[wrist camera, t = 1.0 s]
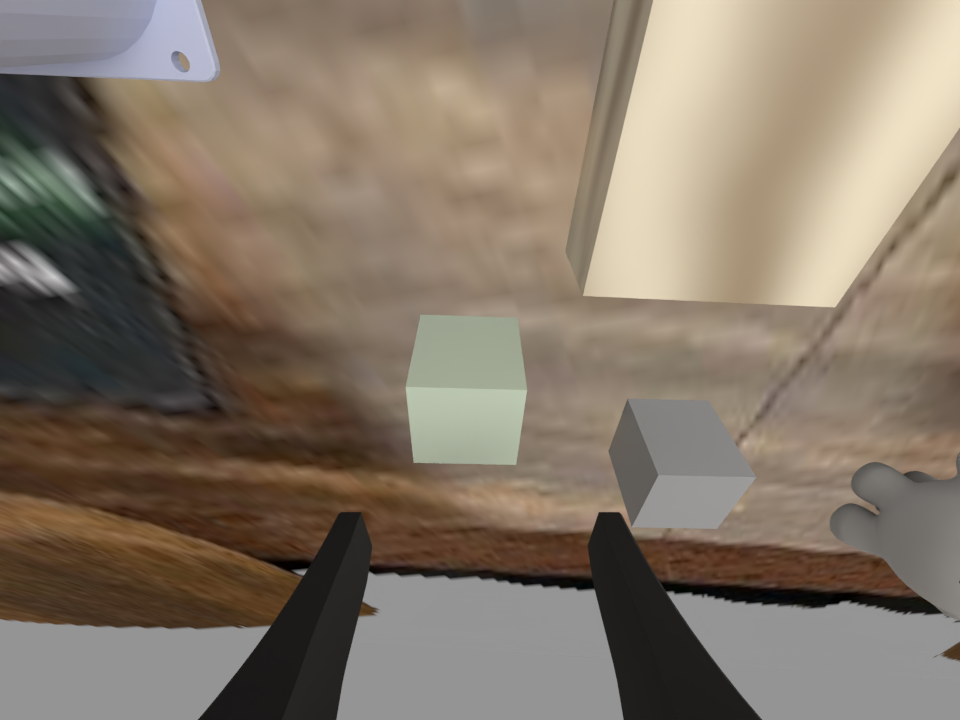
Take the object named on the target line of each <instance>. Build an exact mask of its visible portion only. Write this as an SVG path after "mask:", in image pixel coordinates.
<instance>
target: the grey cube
mask: <svg viewBox="0 0 960 720" xmlns="http://www.w3.org/2000/svg"><path fill="white" fill-rule="evenodd" d="M608 452H609V455H610V458H611V462H612V465H613V468H614V471H615V475H616V478H617V481H618V484H619V488H620V491H621V494H622V497H623V501H624V504H625V507H626V510H627V514H628V517H629V520H630V523H631V527H643V528H696V529H717V528H718V527H719V525H720V524H721V523H722V522H723V520H724V519H725V518H726V516H727V515H728V514H729V512H730V511H731V510H732V509H733V507H734V506H735V505H736V503H737V502H738V501H739V499H740V498H741V497H742V496H743V494H744V493H745V492H746V490H747V489H748V488H749V486H750V485H751V484H752V483H753V481H754V480H755V479H756V476H755V474H754V473H753V471H752V469H751V468H750V466H749V465H748V463H747V461H746V460H745V458H744V456H743V455H742V453H741V452H740V450H739V448H738V447H737V445H736V444H735V442H734V440H733V439H732V437H731V436H730V434H729V432H728V431H727V429H726V428H725V426H724V424H723V423H722V421H721V420H720V418H719V416H718V415H717V413H716V412H715V410H714V408H713V407H712V405H711V404H710V402H709V401H698V400H661V399H627V401H626V404H625V407H624V410H623V412H622V415H621V418H620V421H619V423H618V426H617V429H616V432H615V434H614V437H613V440H612V443H611V445H610V448H609V451H608Z"/></svg>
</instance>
